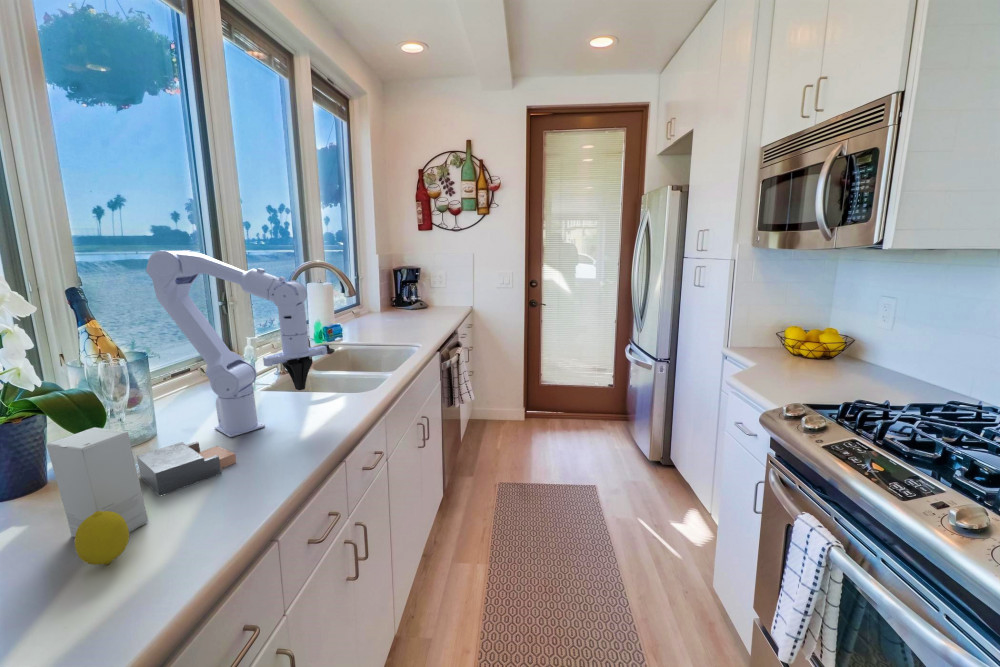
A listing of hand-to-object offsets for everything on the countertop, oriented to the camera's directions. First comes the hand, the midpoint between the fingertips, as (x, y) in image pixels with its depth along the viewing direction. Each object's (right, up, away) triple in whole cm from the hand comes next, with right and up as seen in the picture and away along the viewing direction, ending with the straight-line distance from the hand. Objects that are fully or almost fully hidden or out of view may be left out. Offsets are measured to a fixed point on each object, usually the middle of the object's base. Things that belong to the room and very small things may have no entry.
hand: (300, 389), depth 108 cm
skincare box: (-13, -17, -38) cm, 44 cm away
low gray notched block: (-13, -14, -21) cm, 28 cm away
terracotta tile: (-12, -14, -19) cm, 27 cm away
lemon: (-6, -19, -46) cm, 50 cm away
